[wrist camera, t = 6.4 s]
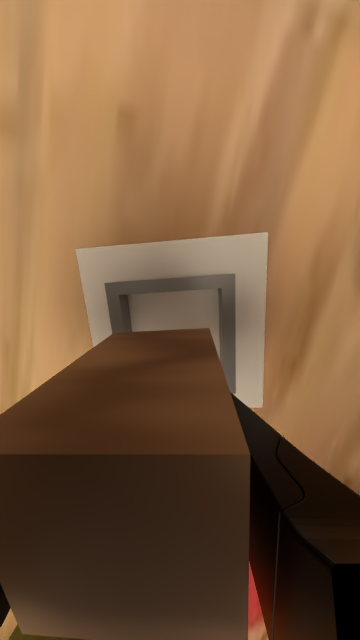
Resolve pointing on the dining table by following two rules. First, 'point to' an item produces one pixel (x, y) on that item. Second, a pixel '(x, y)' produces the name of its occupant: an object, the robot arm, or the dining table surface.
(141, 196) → the dining table surface
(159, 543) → the walnut peg
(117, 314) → the socket base
